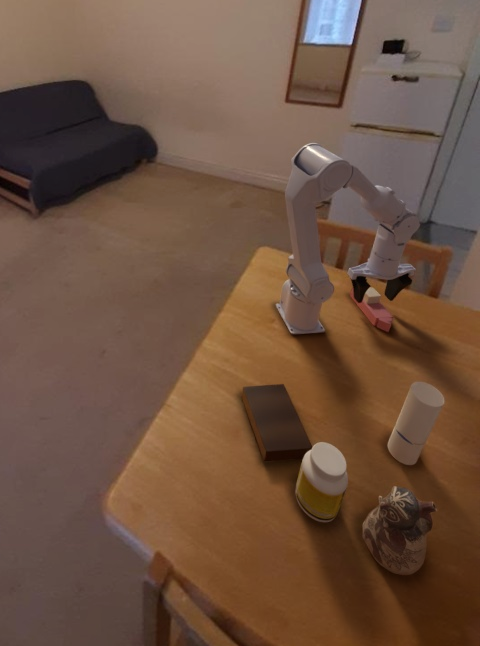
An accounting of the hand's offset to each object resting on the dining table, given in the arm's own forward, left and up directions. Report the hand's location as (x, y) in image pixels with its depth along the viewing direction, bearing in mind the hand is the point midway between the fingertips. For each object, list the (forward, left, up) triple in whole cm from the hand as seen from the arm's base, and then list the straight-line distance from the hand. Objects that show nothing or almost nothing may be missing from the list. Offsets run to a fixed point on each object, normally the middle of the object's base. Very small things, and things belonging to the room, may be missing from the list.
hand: (372, 298), depth 97 cm
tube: (+32, -14, -4) cm, 35 cm away
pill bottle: (+38, -32, -4) cm, 50 cm away
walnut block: (+26, -34, -4) cm, 43 cm away
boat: (+1, 0, -4) cm, 4 cm away
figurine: (+44, -24, -4) cm, 50 cm away
